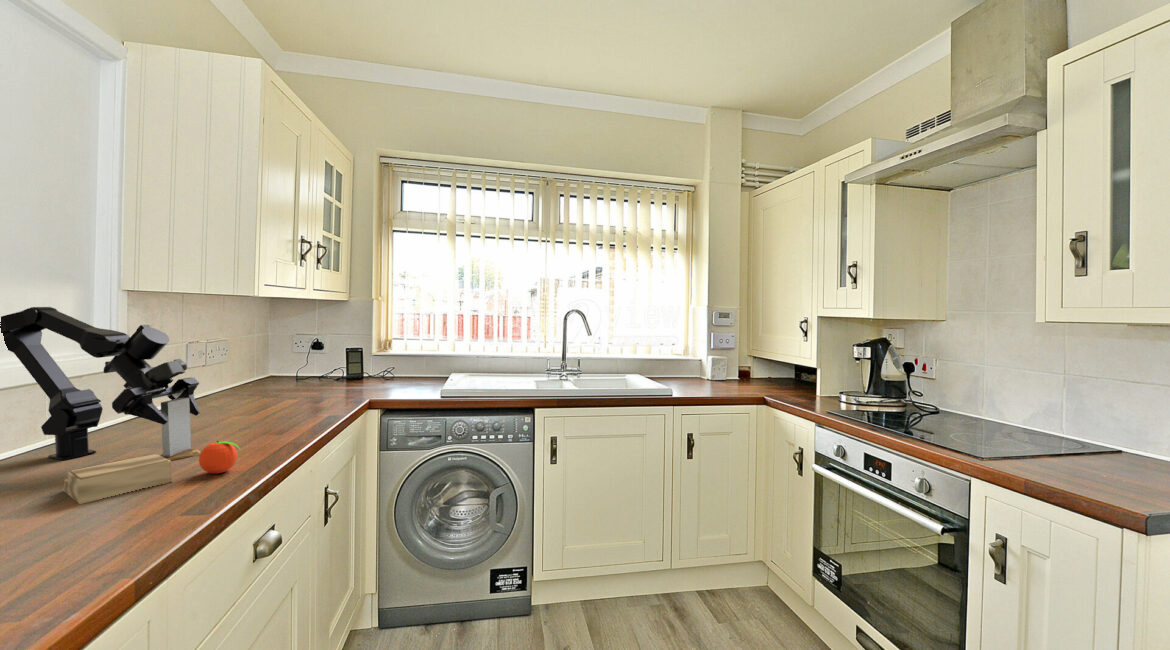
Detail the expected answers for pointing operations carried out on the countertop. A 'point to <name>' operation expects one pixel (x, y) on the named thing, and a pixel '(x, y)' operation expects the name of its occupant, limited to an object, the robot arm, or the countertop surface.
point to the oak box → (117, 478)
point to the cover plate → (176, 427)
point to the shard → (184, 454)
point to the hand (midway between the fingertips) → (182, 418)
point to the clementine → (218, 457)
